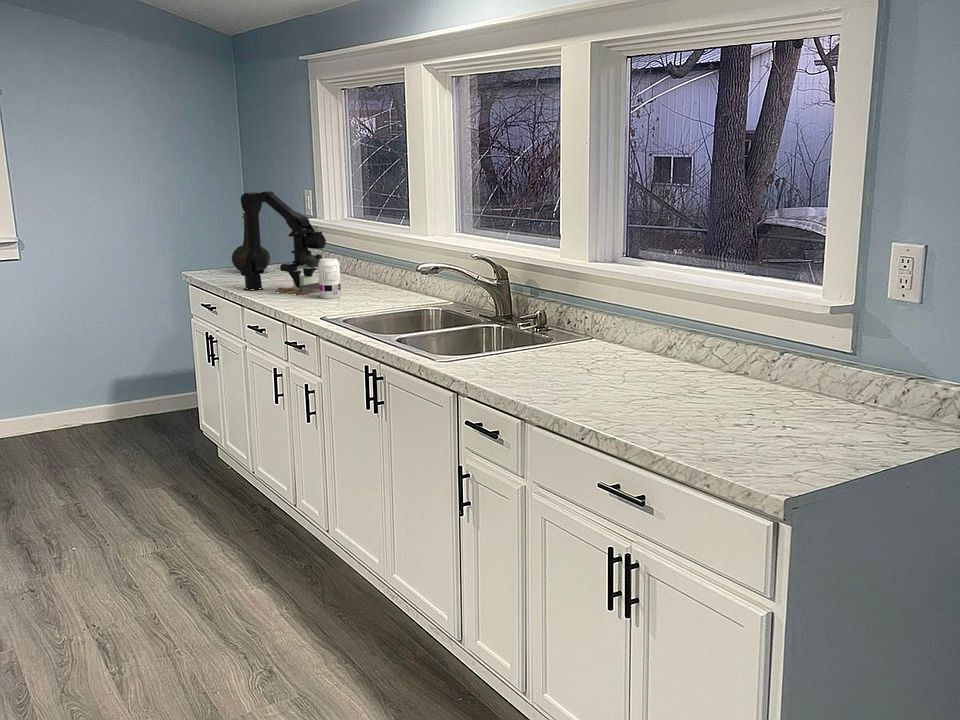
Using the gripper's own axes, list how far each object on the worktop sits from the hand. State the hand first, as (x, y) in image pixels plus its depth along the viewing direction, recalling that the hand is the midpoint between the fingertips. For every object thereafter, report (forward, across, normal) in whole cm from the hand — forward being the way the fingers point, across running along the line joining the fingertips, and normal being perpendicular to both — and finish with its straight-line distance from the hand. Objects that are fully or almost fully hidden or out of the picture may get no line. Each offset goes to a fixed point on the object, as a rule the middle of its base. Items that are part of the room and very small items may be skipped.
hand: (303, 286), depth 383 cm
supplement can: (+3, -4, -19) cm, 19 cm away
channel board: (+2, 0, +2) cm, 3 cm away
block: (+1, 0, 0) cm, 1 cm away
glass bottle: (+3, +35, +70) cm, 78 cm away
